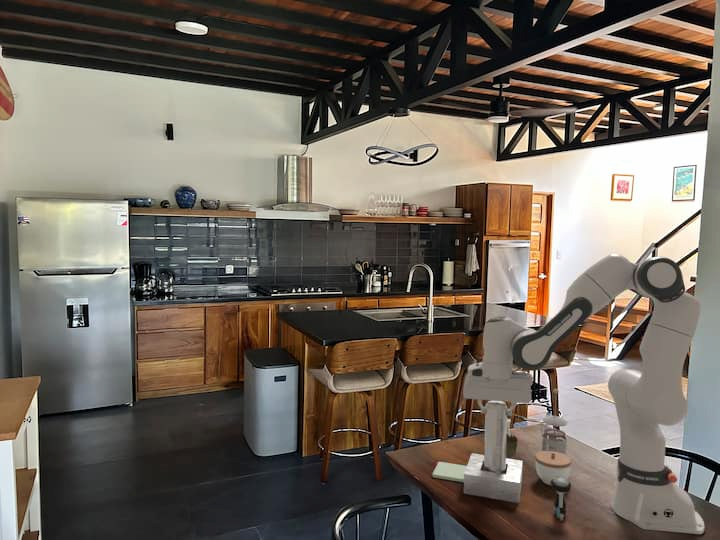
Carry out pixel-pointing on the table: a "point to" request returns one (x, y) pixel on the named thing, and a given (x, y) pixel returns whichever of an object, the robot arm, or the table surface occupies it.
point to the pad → (449, 471)
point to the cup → (511, 446)
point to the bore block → (493, 480)
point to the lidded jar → (552, 465)
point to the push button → (560, 495)
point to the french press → (554, 433)
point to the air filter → (495, 437)
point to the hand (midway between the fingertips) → (496, 414)
